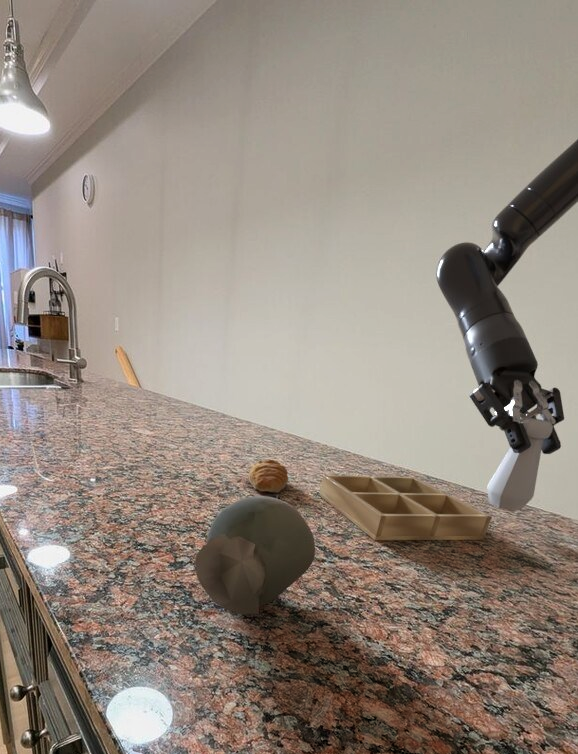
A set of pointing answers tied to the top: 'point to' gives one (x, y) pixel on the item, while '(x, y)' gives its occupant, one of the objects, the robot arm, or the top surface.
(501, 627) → the top surface
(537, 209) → the robot arm
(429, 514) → the grid
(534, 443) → the salt shaker
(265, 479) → the pastry
